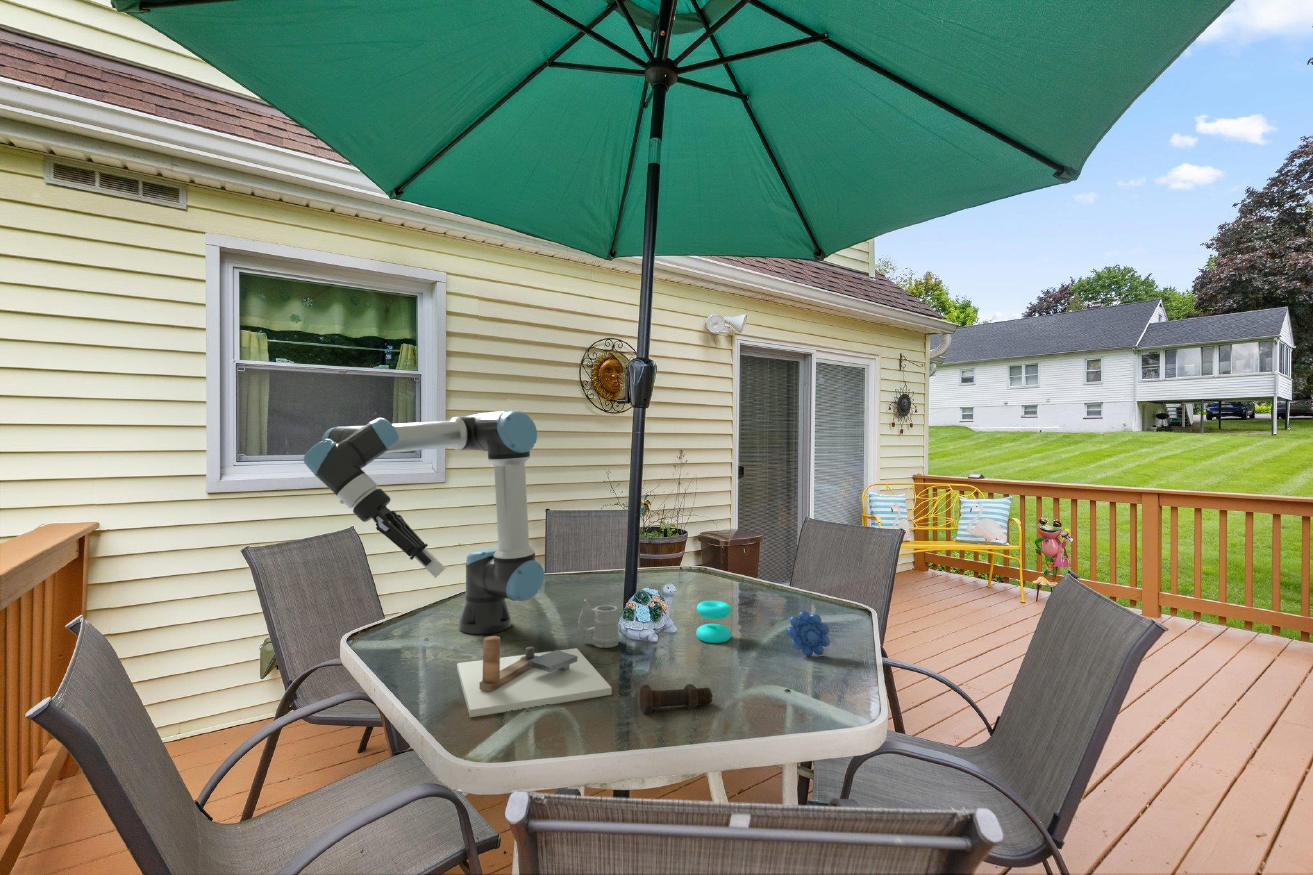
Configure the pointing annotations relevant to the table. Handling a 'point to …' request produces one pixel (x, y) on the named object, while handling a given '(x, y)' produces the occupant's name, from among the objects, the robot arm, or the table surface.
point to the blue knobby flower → (808, 633)
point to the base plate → (531, 686)
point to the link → (492, 665)
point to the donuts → (713, 631)
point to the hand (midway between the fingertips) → (440, 572)
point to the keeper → (553, 661)
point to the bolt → (673, 697)
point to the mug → (600, 625)
